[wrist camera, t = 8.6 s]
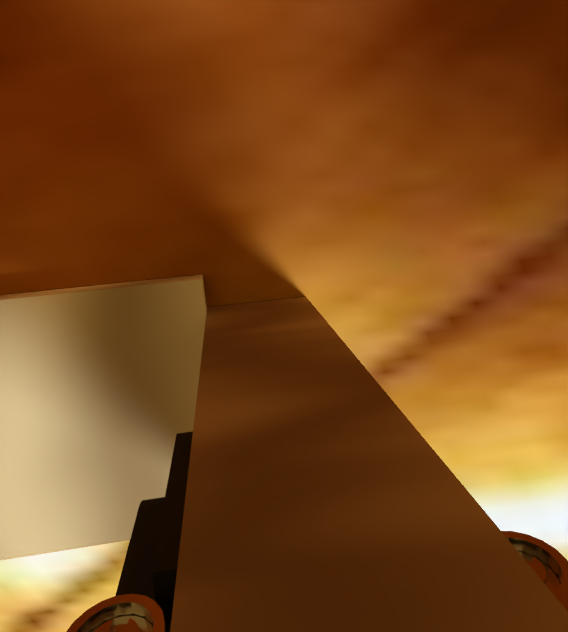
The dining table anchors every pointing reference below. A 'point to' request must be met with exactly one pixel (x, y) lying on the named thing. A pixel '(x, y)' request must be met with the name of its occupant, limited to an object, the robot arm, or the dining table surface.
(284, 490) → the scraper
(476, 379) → the dining table surface
